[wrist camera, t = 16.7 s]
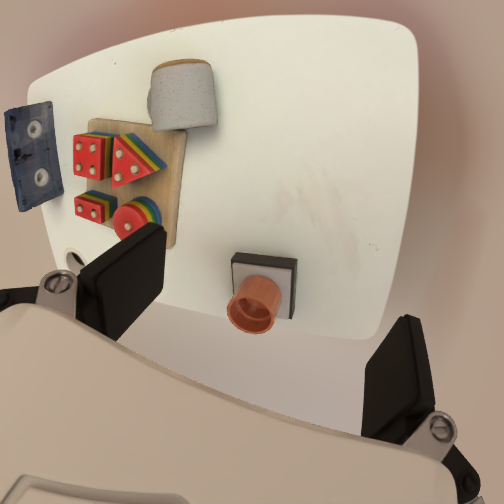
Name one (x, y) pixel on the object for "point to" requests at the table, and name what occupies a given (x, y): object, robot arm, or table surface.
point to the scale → (268, 276)
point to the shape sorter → (129, 175)
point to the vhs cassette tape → (33, 154)
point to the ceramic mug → (182, 95)
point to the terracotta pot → (255, 305)
